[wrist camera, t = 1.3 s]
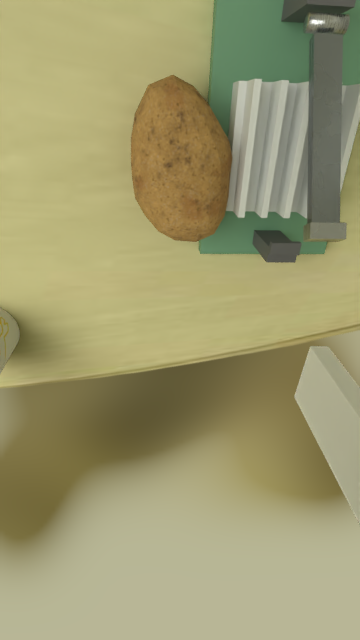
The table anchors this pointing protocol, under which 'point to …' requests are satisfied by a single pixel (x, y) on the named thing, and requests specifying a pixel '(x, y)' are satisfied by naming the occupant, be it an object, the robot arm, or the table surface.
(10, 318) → the white patterned canister
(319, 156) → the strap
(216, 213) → the potato
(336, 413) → the robot arm
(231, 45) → the heatsink board
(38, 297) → the table surface
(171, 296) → the table surface
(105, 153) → the table surface
